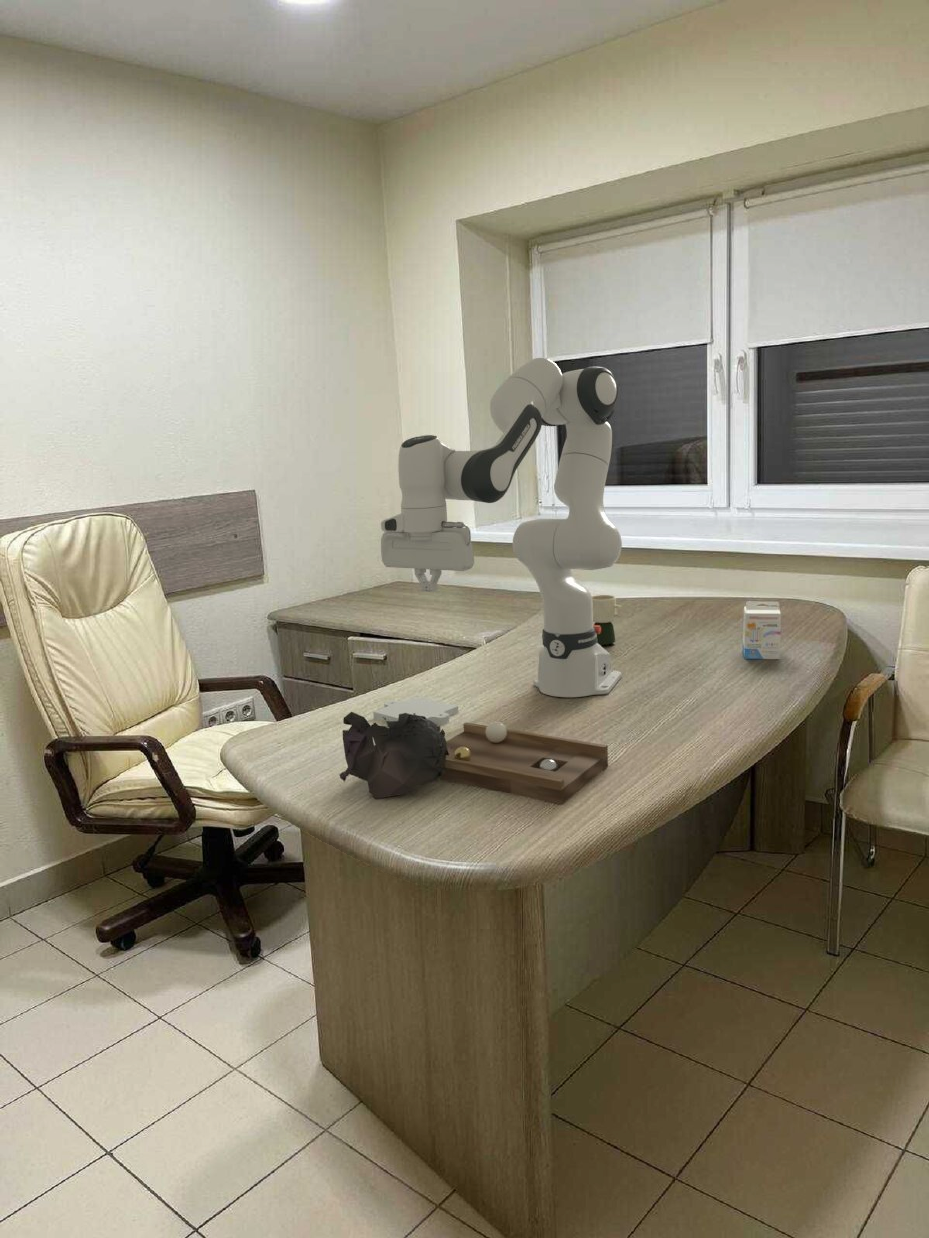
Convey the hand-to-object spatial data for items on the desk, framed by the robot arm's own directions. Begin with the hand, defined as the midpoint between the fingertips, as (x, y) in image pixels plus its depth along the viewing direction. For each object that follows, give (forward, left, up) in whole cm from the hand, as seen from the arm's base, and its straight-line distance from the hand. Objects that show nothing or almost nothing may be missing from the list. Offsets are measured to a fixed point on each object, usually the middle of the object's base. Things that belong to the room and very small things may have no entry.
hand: (429, 591), depth 180 cm
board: (+12, +24, -29) cm, 40 cm away
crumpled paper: (+28, +12, -29) cm, 43 cm away
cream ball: (+6, +18, -25) cm, 31 cm away
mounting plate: (-6, -10, -30) cm, 32 cm away
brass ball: (+18, +18, -25) cm, 36 cm away
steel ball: (+12, +32, -27) cm, 44 cm away
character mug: (-76, +2, -29) cm, 82 cm away
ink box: (-80, +43, -29) cm, 95 cm away
